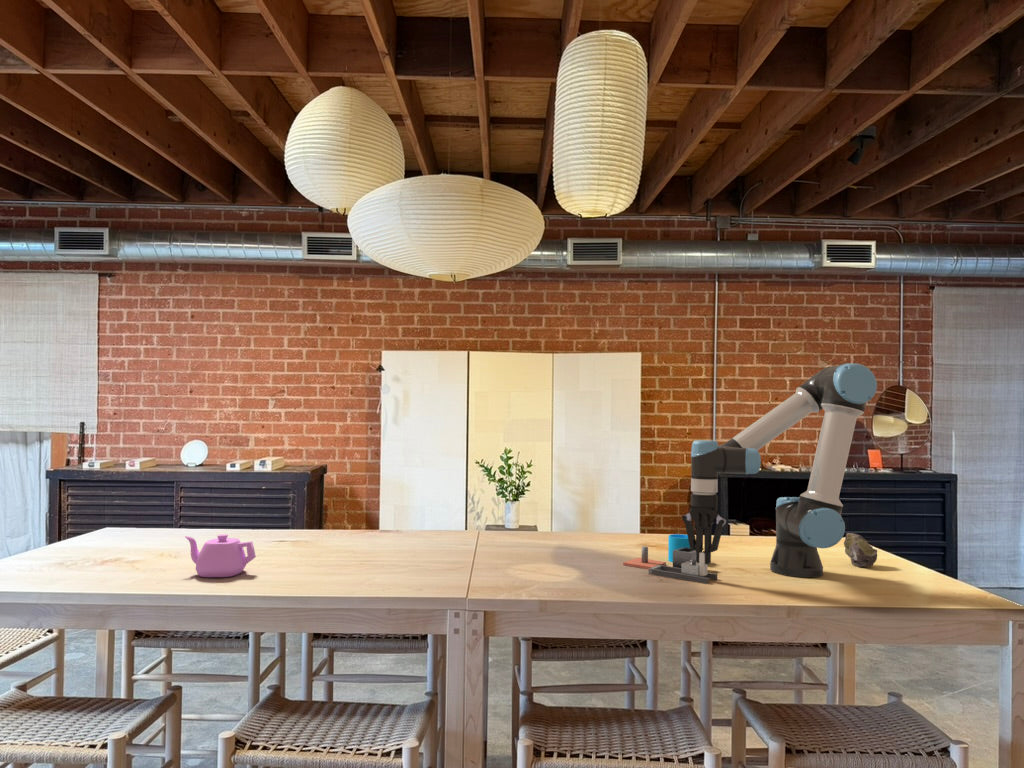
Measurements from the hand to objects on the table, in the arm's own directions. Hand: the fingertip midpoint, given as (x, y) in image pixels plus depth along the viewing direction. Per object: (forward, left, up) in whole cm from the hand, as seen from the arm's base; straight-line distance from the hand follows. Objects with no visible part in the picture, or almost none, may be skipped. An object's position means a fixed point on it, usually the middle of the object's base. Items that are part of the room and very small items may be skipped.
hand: (703, 574), depth 198 cm
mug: (+17, -22, -2) cm, 28 cm away
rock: (-31, -54, -2) cm, 62 cm away
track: (+6, 0, -2) cm, 6 cm away
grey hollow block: (+9, -10, -2) cm, 14 cm away
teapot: (+108, +88, -2) cm, 140 cm away
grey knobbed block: (+3, 0, -2) cm, 4 cm away
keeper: (+22, -7, -2) cm, 24 cm away
